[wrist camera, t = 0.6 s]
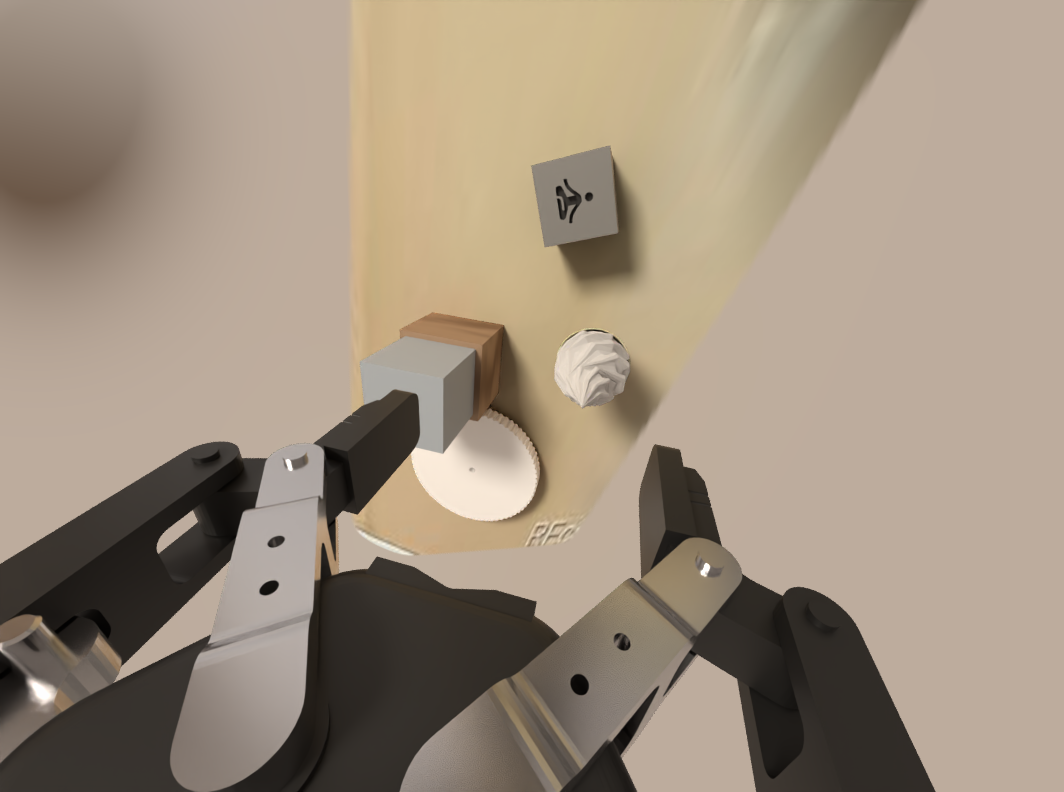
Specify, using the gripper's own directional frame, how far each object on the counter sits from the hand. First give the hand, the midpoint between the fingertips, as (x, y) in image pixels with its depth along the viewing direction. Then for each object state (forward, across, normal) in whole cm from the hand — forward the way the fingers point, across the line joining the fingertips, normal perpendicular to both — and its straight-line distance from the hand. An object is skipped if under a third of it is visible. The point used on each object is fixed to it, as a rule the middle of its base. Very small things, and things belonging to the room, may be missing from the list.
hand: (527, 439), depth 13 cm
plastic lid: (+22, +9, +19) cm, 31 cm away
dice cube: (+23, +2, -7) cm, 24 cm away
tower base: (+22, +11, +7) cm, 26 cm away
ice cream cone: (+22, -2, +3) cm, 23 cm away
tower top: (+16, +11, +7) cm, 21 cm away
